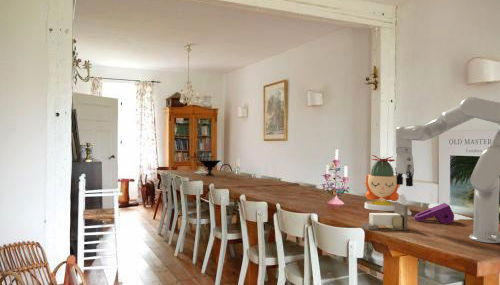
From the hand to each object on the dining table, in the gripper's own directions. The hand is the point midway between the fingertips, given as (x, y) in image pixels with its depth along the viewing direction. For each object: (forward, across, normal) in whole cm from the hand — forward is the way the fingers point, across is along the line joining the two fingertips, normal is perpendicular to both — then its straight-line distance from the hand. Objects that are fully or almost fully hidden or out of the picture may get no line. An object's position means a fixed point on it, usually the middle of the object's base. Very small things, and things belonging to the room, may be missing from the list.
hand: (404, 185), depth 195 cm
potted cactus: (+20, +61, -15) cm, 66 cm away
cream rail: (+19, 0, +10) cm, 22 cm away
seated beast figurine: (+21, +40, -19) cm, 49 cm away
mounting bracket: (+22, +18, -25) cm, 38 cm away
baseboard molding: (+22, +34, -44) cm, 60 cm away
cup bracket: (+21, 0, +6) cm, 22 cm away
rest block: (+21, +1, +18) cm, 27 cm away
